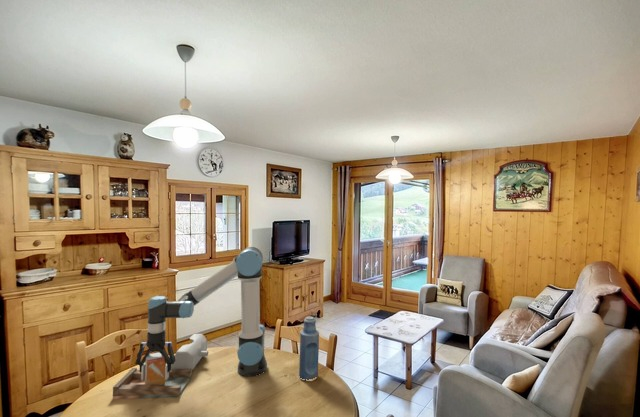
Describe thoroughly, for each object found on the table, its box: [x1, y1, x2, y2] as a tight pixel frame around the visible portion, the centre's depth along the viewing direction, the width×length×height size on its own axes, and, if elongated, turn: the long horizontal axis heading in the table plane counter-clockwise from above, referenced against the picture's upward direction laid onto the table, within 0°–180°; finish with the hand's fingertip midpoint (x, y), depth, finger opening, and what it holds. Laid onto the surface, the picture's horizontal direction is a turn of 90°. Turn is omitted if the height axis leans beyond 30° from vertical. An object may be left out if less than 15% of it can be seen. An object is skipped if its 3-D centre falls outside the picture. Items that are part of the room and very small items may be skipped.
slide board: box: [112, 367, 193, 400], centre depth 149 cm, size 28×17×5 cm, turn 95°
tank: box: [171, 333, 209, 372], centre depth 172 cm, size 25×16×12 cm, turn 2°
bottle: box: [298, 315, 320, 380], centre depth 162 cm, size 10×10×30 cm
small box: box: [144, 352, 167, 385], centre depth 149 cm, size 8×6×13 cm
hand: (155, 378), depth 149 cm, fingers closed on small box, 10 cm apart
